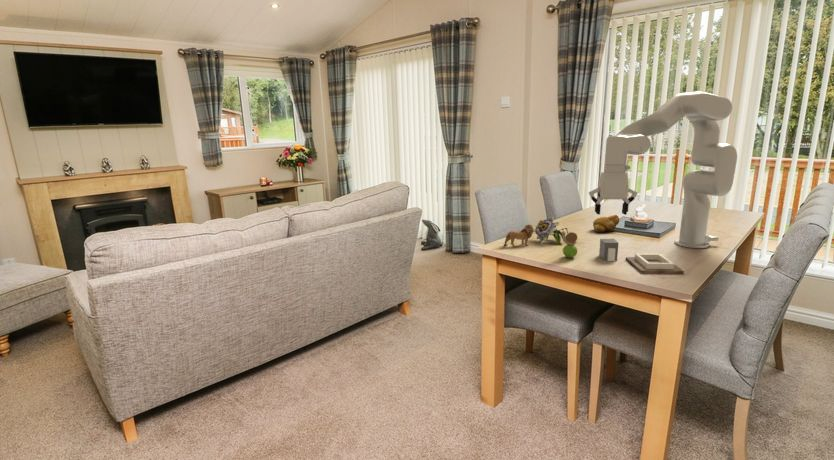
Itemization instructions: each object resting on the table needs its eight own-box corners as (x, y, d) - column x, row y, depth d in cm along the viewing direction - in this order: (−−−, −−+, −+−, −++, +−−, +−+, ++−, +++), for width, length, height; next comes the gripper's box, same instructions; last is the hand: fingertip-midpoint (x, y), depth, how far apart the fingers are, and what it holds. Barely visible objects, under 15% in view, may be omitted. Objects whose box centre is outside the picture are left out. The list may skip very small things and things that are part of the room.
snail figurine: (557, 256, 176) (559, 227, 174) (573, 255, 177) (575, 226, 174) (563, 260, 171) (565, 230, 168) (579, 259, 172) (581, 229, 169)
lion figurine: (528, 242, 198) (529, 222, 196) (535, 245, 193) (536, 225, 191) (500, 246, 193) (500, 226, 191) (506, 249, 188) (507, 228, 186)
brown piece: (664, 259, 168) (664, 252, 167) (683, 273, 153) (684, 265, 152) (625, 259, 170) (626, 252, 169) (641, 273, 154) (642, 265, 154)
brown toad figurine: (601, 234, 207) (603, 218, 205) (585, 230, 216) (586, 214, 214) (620, 231, 213) (622, 214, 211) (604, 227, 221) (605, 211, 219)
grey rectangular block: (612, 255, 175) (613, 238, 173) (618, 261, 168) (619, 243, 166) (599, 255, 175) (600, 238, 174) (604, 261, 169) (605, 243, 167)
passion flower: (540, 255, 199) (525, 229, 201) (558, 245, 204) (543, 220, 207) (557, 245, 188) (541, 218, 190) (576, 235, 193) (560, 209, 196)
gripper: (635, 167, 167) (631, 212, 171) (588, 168, 169) (585, 211, 173) (643, 169, 159) (638, 216, 163) (593, 170, 161) (590, 215, 165)
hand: (610, 213), depth 168 cm, fingers open, 9 cm apart
